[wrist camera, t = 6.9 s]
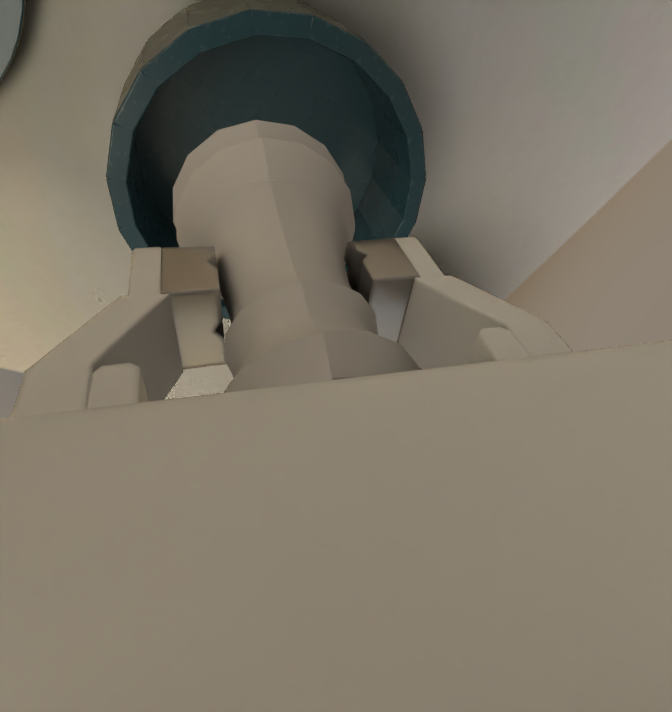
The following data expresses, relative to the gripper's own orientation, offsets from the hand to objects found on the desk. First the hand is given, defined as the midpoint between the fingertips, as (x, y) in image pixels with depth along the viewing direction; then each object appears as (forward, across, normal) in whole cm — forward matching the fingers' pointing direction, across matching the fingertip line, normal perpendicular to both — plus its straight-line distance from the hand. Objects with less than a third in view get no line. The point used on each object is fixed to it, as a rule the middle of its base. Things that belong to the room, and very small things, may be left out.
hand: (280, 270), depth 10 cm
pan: (+18, -2, +4) cm, 19 cm away
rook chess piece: (+3, 0, 0) cm, 3 cm away
